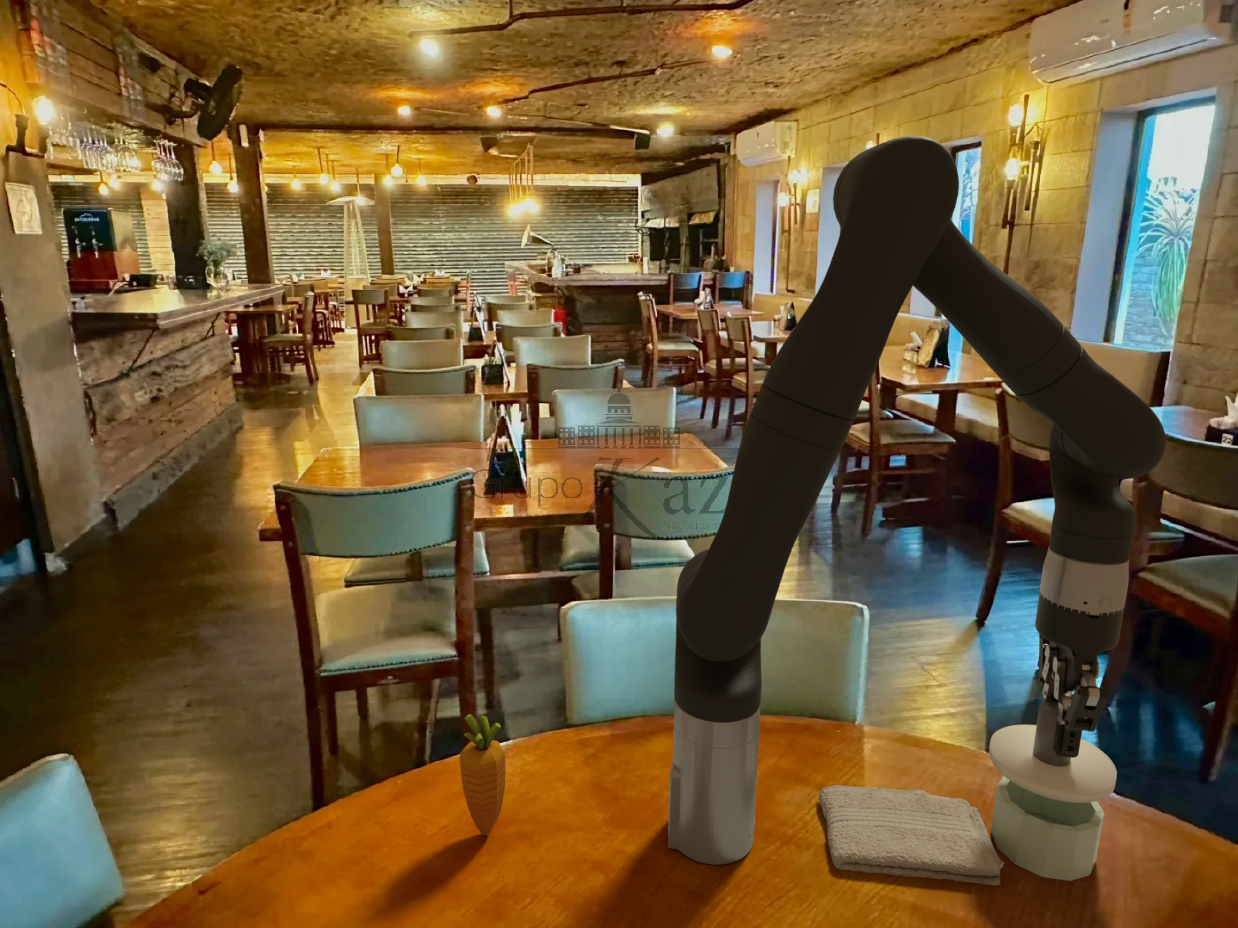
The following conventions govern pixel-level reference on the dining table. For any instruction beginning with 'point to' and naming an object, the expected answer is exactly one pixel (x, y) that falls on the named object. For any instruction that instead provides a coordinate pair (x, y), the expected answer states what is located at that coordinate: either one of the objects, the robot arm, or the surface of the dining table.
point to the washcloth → (908, 834)
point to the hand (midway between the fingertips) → (1058, 742)
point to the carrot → (483, 774)
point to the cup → (1046, 832)
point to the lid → (1051, 761)
